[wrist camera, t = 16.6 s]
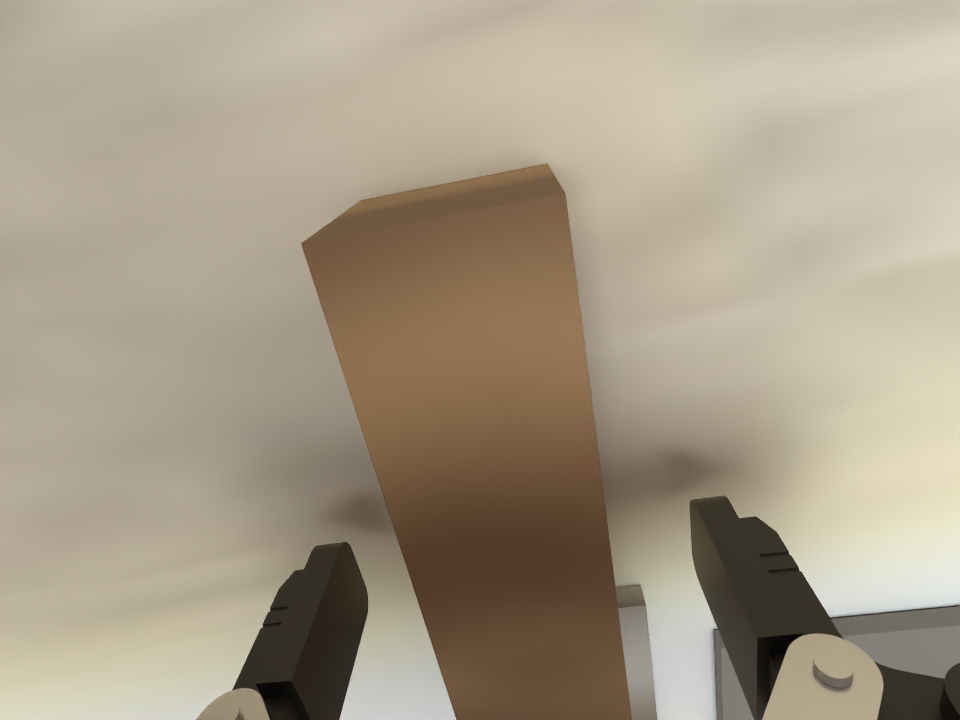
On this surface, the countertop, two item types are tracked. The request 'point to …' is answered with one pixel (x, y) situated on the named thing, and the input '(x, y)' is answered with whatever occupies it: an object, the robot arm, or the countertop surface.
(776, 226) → the countertop surface
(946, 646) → the slate mat
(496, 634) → the board
